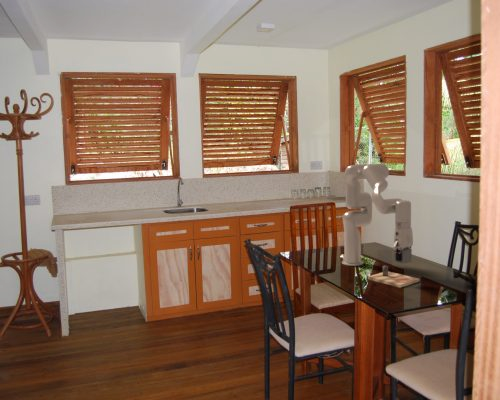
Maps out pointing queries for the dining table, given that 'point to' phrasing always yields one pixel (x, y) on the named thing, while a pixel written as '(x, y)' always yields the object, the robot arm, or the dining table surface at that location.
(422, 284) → the dining table surface
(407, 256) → the gray cube
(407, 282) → the board
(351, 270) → the dining table surface
